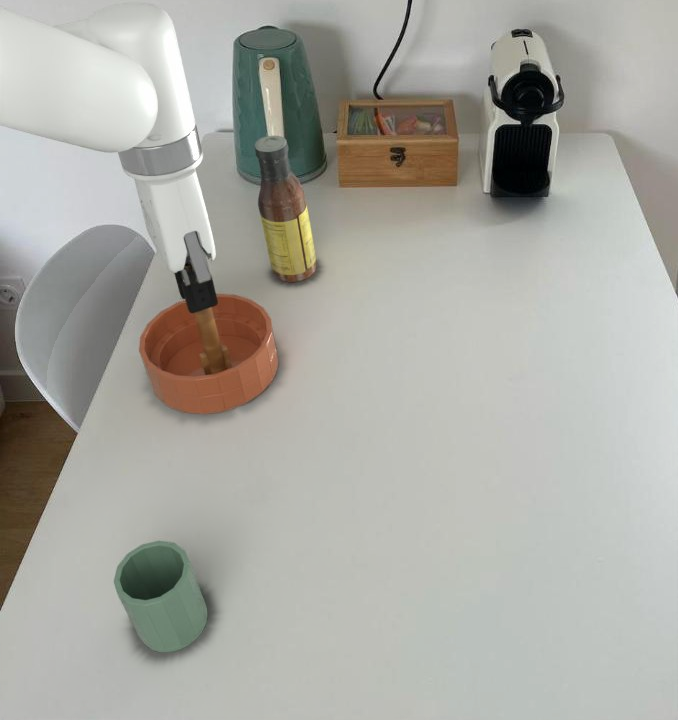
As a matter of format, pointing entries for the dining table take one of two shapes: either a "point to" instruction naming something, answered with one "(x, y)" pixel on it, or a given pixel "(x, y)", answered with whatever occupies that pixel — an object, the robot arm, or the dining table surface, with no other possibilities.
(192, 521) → the dining table surface
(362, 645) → the dining table surface
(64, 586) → the dining table surface
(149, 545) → the crock
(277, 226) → the sauce bottle
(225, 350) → the wooden dowel rod
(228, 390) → the bowl
